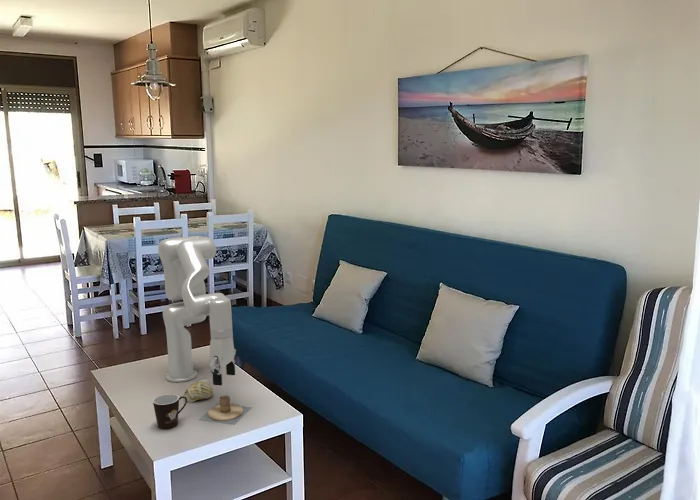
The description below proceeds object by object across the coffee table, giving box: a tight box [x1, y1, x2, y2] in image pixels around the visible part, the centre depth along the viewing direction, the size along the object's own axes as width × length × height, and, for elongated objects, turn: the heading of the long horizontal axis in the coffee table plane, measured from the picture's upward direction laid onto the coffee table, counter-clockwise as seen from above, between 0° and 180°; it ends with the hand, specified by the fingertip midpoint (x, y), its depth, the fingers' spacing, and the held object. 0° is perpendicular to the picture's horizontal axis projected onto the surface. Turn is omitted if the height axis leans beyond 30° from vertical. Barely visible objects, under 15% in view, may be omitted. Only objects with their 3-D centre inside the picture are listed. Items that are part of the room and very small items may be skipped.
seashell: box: [182, 378, 214, 404], centre depth 223 cm, size 10×10×10 cm
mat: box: [198, 402, 253, 426], centre depth 210 cm, size 14×14×1 cm
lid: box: [207, 395, 243, 421], centre depth 210 cm, size 12×12×6 cm
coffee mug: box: [152, 393, 187, 431], centre depth 202 cm, size 12×9×10 cm
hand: (224, 379), depth 207 cm, fingers open, 9 cm apart
